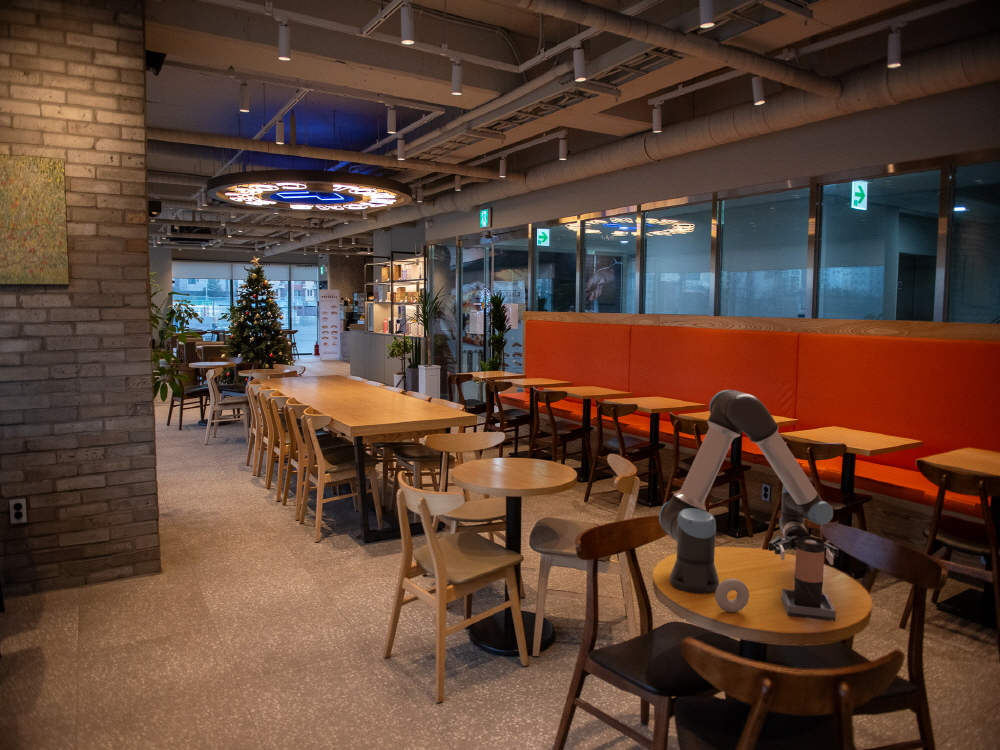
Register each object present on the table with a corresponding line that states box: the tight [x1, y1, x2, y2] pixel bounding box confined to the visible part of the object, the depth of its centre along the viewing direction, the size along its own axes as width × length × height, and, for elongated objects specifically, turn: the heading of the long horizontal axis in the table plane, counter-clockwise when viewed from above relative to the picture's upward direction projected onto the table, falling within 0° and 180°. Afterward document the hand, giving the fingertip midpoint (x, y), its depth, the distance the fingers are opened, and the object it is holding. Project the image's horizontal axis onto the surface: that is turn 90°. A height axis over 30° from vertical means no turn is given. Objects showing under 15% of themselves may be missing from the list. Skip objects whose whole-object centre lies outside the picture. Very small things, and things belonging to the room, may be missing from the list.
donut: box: [714, 577, 750, 613], centre depth 201 cm, size 10×4×10 cm, turn 93°
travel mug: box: [793, 535, 826, 608], centre depth 202 cm, size 8×8×20 cm
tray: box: [780, 588, 837, 622], centre depth 203 cm, size 13×13×3 cm
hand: (807, 558), depth 207 cm, fingers open, 13 cm apart
